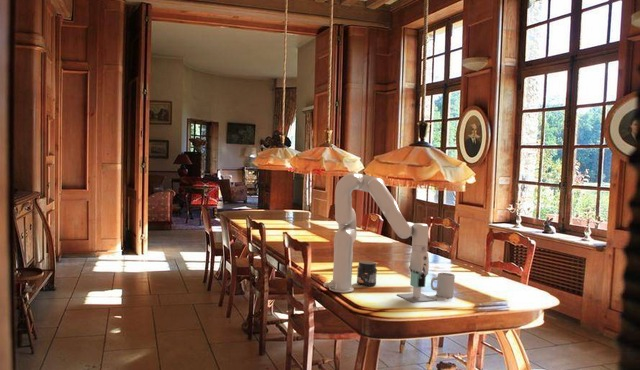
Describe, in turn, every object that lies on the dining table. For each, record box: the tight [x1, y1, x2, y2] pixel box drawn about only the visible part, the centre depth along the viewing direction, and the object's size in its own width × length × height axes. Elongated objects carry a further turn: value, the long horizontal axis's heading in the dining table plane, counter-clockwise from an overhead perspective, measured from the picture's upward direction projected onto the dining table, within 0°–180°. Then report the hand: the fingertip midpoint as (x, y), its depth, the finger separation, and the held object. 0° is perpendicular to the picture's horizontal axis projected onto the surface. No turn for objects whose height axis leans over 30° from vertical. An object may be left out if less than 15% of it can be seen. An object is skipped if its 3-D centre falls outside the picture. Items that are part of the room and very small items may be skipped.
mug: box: [430, 272, 456, 299], centre depth 272 cm, size 12×8×11 cm
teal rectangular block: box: [409, 271, 427, 288], centre depth 264 cm, size 5×5×7 cm
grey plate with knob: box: [396, 286, 438, 304], centre depth 264 cm, size 14×14×6 cm
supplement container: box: [356, 260, 378, 288], centre depth 288 cm, size 10×10×12 cm
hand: (417, 284), depth 264 cm, fingers closed on teal rectangular block, 5 cm apart
